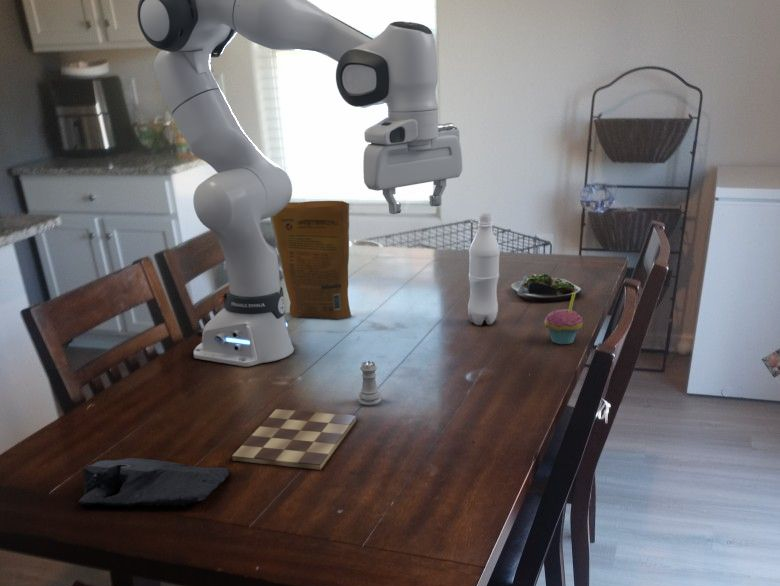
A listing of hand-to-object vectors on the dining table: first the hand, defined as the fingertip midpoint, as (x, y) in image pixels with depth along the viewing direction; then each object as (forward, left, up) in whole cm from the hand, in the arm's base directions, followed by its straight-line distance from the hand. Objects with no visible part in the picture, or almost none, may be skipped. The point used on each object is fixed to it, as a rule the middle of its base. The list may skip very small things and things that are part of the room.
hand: (415, 209), depth 156 cm
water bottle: (+7, +39, -34) cm, 52 cm away
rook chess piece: (-6, -13, -34) cm, 37 cm away
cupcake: (+27, +29, -34) cm, 52 cm away
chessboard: (-14, -32, -34) cm, 49 cm away
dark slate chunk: (-30, -54, -34) cm, 71 cm away
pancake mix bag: (-34, +36, -34) cm, 60 cm away
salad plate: (+19, +65, -34) cm, 76 cm away
